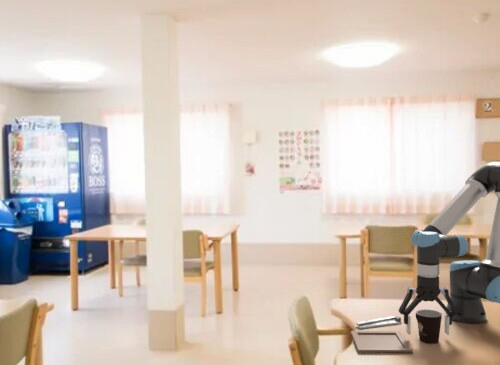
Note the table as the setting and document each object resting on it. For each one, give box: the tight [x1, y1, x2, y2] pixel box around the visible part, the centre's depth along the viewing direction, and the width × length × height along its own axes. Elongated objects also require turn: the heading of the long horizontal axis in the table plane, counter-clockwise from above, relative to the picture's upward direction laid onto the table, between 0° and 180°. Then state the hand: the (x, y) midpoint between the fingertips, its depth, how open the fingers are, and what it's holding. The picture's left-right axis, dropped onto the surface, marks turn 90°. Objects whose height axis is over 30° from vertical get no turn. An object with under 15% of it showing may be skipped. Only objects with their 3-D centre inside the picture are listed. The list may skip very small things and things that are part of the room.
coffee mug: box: [415, 309, 443, 345], centre depth 173 cm, size 12×9×10 cm
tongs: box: [355, 315, 402, 330], centre depth 189 cm, size 19×5×2 cm, turn 106°
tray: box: [350, 330, 414, 355], centre depth 170 cm, size 18×18×1 cm
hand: (427, 333), depth 173 cm, fingers open, 13 cm apart
